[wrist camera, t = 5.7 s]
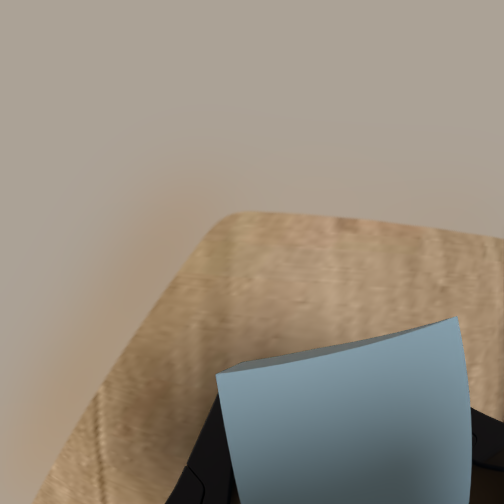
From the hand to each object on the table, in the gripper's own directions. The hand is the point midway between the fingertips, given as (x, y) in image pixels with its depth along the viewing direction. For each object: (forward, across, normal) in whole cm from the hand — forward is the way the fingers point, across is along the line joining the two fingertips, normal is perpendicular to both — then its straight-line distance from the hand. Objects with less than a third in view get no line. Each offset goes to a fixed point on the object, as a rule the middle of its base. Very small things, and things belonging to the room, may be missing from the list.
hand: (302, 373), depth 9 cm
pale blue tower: (+4, 0, +6) cm, 7 cm away
